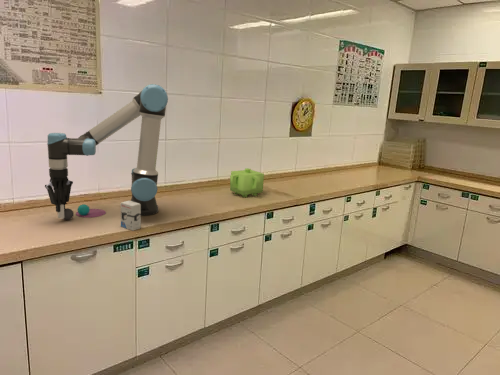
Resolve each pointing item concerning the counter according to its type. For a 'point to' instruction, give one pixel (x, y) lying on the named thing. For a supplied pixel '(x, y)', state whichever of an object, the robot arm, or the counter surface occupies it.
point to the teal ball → (83, 209)
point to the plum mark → (93, 213)
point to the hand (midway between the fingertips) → (61, 217)
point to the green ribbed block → (246, 182)
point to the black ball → (68, 214)
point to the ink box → (131, 215)
